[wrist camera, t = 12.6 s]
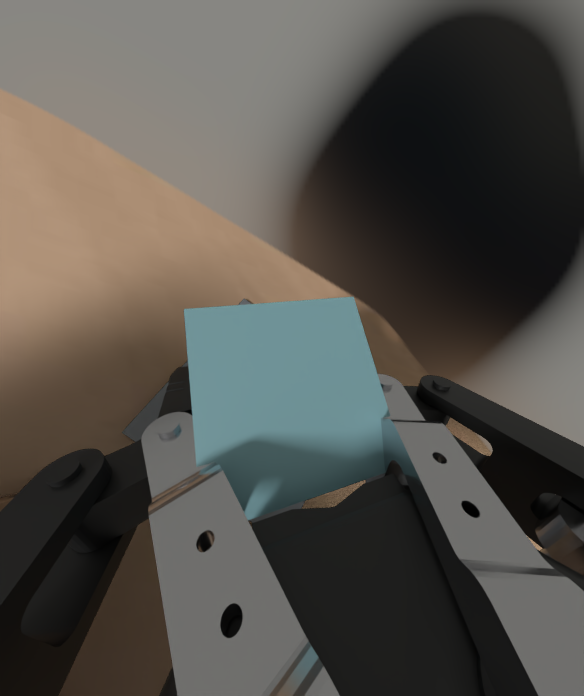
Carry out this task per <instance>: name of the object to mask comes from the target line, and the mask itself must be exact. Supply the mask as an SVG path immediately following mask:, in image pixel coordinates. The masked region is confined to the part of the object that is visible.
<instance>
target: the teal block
mask: <svg viewBox="0 0 584 696" xmlns="http://www.w3.org/2000/svg"><path fill="white" fill-rule="evenodd" d="M184 317H185V330H186V342H187V355H188V367H189V380H190V392H191V405H192V417H193V430H194V442H195V454H196V467H199V466H202V465H206V464H210V463H213V462H215V463H216V464H219V465H220V466H221V468H222V470H223V471H224V473H225V475H226V477H227V479H228V481H229V483H230V485H231V487H232V489H233V491H234V493H235V495H236V497H237V499H238V501H239V503H240V505H241V508H242V510H243V512H244V514H245V516H246V518H247V520H251V519H254V518H256V517H259V516H262V515H265V514H268V513H271V512H274V511H277V510H279V509H282V508H285V507H288V506H291V505H294V504H297V503H300V502H302V501H305V500H308V499H311V498H314V497H317V496H320V495H323V494H325V493H328V492H331V491H334V490H337V489H340V488H343V487H346V486H348V485H351V484H354V483H357V482H360V481H363V480H366V479H369V478H372V477H374V476H377V475H380V474H383V473H385V465H384V452H383V440H382V428H381V418H385V417H389V416H390V413H389V409H388V406H387V403H386V400H385V397H384V393H383V390H382V387H381V384H380V380H379V377H378V374H377V371H376V368H375V364H374V361H373V358H372V355H371V352H370V348H369V345H368V342H367V339H366V335H365V332H364V329H363V326H362V323H361V319H360V316H359V313H358V310H357V306H356V303H355V300H354V297H344V298H330V299H316V300H302V301H289V302H275V303H261V304H247V305H233V306H220V307H206V308H192V309H184Z"/></svg>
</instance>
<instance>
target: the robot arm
mask: <svg viewBox="0 0 584 696" xmlns="http://www.w3.org/2000/svg"><path fill="white" fill-rule="evenodd" d="M378 377H379V380H380V384H381V387H382V390H383V393H384V397H385V400H386V403H387V406H388V409H389V413H390V416H389V417H385V418H381V428H382V440H383V452H384V465H385V473H383V474H380V475H377V476H374V477H372V478H369V479H366V483H365V484H363V485H362V486H360V487H359V488H358V489H357V490H355V491H354V492H353V493H352V494H350V495H349V496H348V497H347V498H346V499H344V500H343V501H342V502H341V503H339V504H338V505H337V506H335V507H331V508H309V509H291V510H288V511H286V512H283V513H280V514H277V515H274V516H271V517H269V518H266V519H263V520H260V521H257V522H254V523H252V528H253V530H252V528H251V526H250V524H249V522H248V520H247V518H246V516H245V514H244V512H243V510H242V508H241V505H240V503H239V501H238V499H237V497H236V495H235V493H234V491H233V489H232V487H231V485H230V483H229V481H228V479H227V477H226V475H225V473H224V471H223V470H222V468H221V466H220V465H219V464H216V463H215V462H213V463H210V464H206V465H202V466H199V467H196V454H195V442H194V430H193V417H192V405H191V392H190V380H189V367H188V366H186V367H179V368H177V369H176V370H175V371H174V372H173V374H172V375H171V376H170V379H169V383H168V386H167V389H166V392H165V396H164V399H163V402H162V406H161V409H160V412H159V415H158V419H156V420H155V421H153V422H152V423H151V424H150V425H149V426H148V427H147V428H146V429H145V431H144V432H143V435H142V438H141V439H140V440H138V441H137V442H135V443H133V444H131V445H129V446H127V447H125V448H123V449H120V450H118V451H116V452H113V453H111V454H109V455H107V456H104V455H103V454H102V452H101V451H99V450H97V449H83V450H78V451H75V452H72V453H70V454H67V455H65V456H63V457H61V458H59V459H57V460H56V461H54V462H52V463H51V464H49V465H48V466H46V467H45V468H44V469H43V470H41V471H40V472H39V473H38V474H37V475H36V476H35V477H34V478H33V479H32V480H31V481H30V482H29V483H28V484H27V485H26V486H25V487H24V488H23V489H22V490H21V491H20V492H19V493H18V494H17V495H16V496H15V497H14V498H13V499H12V500H11V501H10V502H9V503H8V504H7V505H6V506H5V507H4V508H3V509H2V510H1V511H0V696H58V695H59V693H60V691H61V688H62V686H63V684H64V682H65V680H66V678H67V676H68V673H69V671H70V669H71V667H72V665H73V663H74V661H75V658H76V656H77V654H78V652H79V650H80V648H81V646H82V643H83V641H84V639H85V637H86V635H87V633H88V631H89V628H90V626H91V624H92V622H93V620H94V618H95V616H96V614H97V611H98V609H99V607H100V605H101V603H102V601H103V599H104V596H105V594H106V592H107V590H108V588H109V586H110V584H111V581H112V579H113V577H114V575H115V573H116V571H117V569H118V566H119V564H120V562H121V560H122V558H123V556H124V554H125V551H126V549H127V547H128V545H129V543H130V541H131V539H132V536H133V534H134V532H135V530H136V528H137V525H138V524H140V523H142V522H143V521H145V520H147V519H148V518H149V521H150V528H151V534H152V540H153V546H154V552H155V559H156V565H157V571H158V577H159V584H160V590H161V596H162V602H163V608H164V615H165V621H166V627H167V633H168V640H169V646H170V652H171V658H172V664H173V667H172V669H171V671H170V673H169V675H168V677H167V680H166V682H165V684H164V686H163V688H162V690H161V693H160V695H159V696H584V447H583V446H581V445H579V444H577V443H575V442H573V441H571V440H569V439H567V438H565V437H563V436H561V435H559V434H557V433H555V432H553V431H551V430H549V429H547V428H545V427H543V426H541V425H539V424H537V423H535V422H533V421H531V420H529V419H527V418H524V417H523V416H521V415H519V414H517V413H515V412H513V411H510V410H509V409H506V408H505V407H503V406H500V405H499V404H496V403H494V402H492V401H490V400H488V399H486V398H484V397H482V396H480V395H478V394H476V393H474V392H472V391H470V390H468V389H466V388H464V387H462V386H460V385H458V384H456V383H454V382H452V381H450V380H448V379H445V378H442V377H439V376H432V375H427V376H424V377H422V378H421V380H420V383H419V385H418V386H403V385H402V384H401V383H400V382H399V381H398V380H397V379H395V378H393V377H391V376H388V375H384V374H378ZM450 417H451V418H453V419H454V420H456V421H457V422H459V423H461V424H462V425H464V426H466V427H467V428H469V429H470V430H472V431H474V432H475V433H477V434H479V435H480V436H482V437H483V438H485V439H486V440H487V441H488V442H489V443H490V444H491V446H492V448H493V452H492V454H491V456H486V455H483V454H481V453H479V452H478V451H476V450H475V449H473V448H472V447H470V446H469V445H467V444H466V443H464V442H463V441H461V440H460V439H458V438H457V437H455V436H454V435H452V434H451V433H450V431H449V430H448V429H447V427H446V425H447V423H448V421H449V419H450ZM555 494H556V495H555ZM525 534H526V535H527V536H528V537H529V538H531V539H532V540H533V541H534V542H536V543H537V544H538V545H539V546H540V547H542V548H543V549H541V550H540V551H539V550H537V549H536V548H535V547H534V546H533V544H532V543H531V541H530V540H529V539H528V537H527V536H526V535H525Z"/></svg>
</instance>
